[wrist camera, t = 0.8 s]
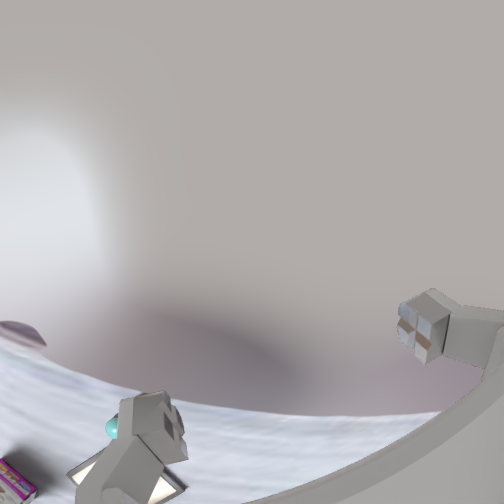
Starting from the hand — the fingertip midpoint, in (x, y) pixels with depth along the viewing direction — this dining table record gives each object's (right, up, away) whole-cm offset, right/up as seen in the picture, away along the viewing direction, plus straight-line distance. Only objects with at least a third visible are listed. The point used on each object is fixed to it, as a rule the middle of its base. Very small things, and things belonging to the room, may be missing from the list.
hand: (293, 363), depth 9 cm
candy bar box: (-53, -47, +30) cm, 77 cm away
